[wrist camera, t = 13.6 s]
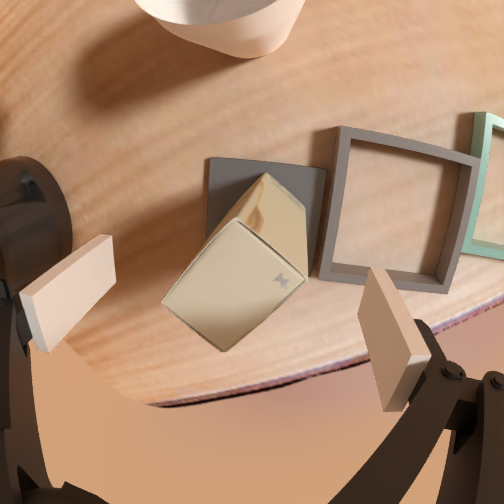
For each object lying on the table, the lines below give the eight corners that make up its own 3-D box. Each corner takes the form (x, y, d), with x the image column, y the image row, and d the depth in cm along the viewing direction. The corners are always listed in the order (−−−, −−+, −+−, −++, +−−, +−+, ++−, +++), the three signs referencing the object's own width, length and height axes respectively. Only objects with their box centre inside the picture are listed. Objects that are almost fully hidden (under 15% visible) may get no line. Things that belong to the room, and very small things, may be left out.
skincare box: (265, 169, 24) (238, 207, 13) (307, 207, 25) (316, 276, 13) (213, 228, 26) (155, 304, 15) (253, 262, 27) (223, 357, 16)
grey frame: (316, 269, 27) (318, 279, 25) (337, 125, 23) (341, 125, 21) (439, 284, 26) (447, 294, 24) (469, 156, 22) (481, 159, 20)
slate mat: (207, 260, 28) (205, 263, 28) (212, 156, 25) (210, 157, 24) (310, 273, 27) (310, 277, 27) (326, 168, 24) (326, 169, 23)
